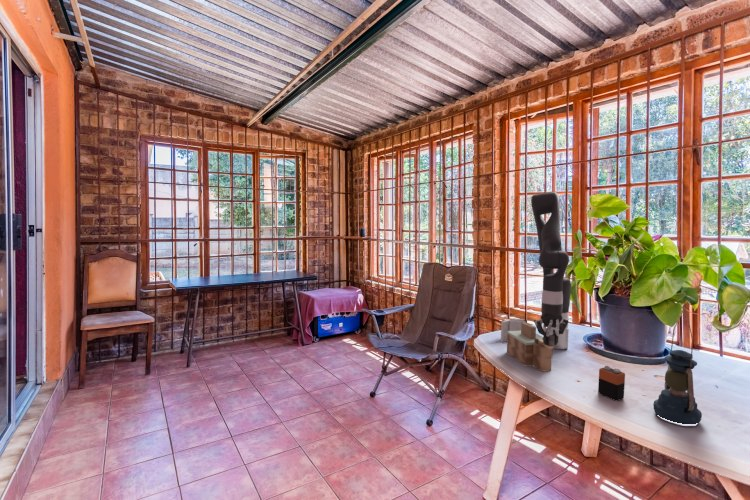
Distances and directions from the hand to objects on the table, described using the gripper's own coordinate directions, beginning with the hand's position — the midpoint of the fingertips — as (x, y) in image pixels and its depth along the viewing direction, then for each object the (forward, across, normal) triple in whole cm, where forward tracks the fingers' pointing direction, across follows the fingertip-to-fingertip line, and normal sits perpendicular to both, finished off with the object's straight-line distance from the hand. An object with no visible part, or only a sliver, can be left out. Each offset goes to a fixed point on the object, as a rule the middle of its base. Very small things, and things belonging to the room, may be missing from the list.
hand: (550, 344), depth 155 cm
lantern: (+12, -18, +38) cm, 44 cm away
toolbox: (+12, 0, -13) cm, 18 cm away
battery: (+12, -10, +21) cm, 26 cm away
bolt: (+2, 0, -3) cm, 3 cm away
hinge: (+12, -6, -41) cm, 43 cm away
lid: (+4, 0, -16) cm, 17 cm away
